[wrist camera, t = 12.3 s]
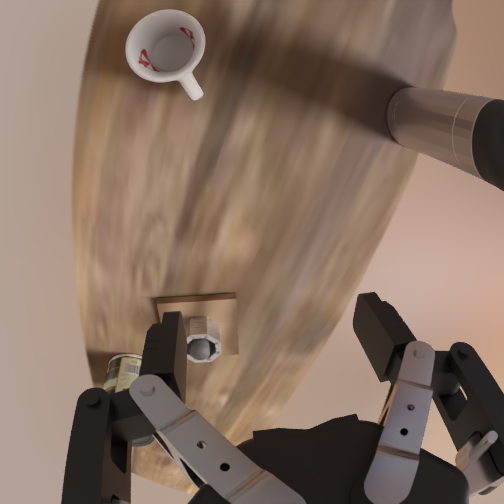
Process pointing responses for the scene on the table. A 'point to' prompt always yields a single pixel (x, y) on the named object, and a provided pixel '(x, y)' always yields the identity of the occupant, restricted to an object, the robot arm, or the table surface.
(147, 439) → the coffee can
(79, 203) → the table surface
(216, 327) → the ring
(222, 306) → the post block
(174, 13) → the cup
